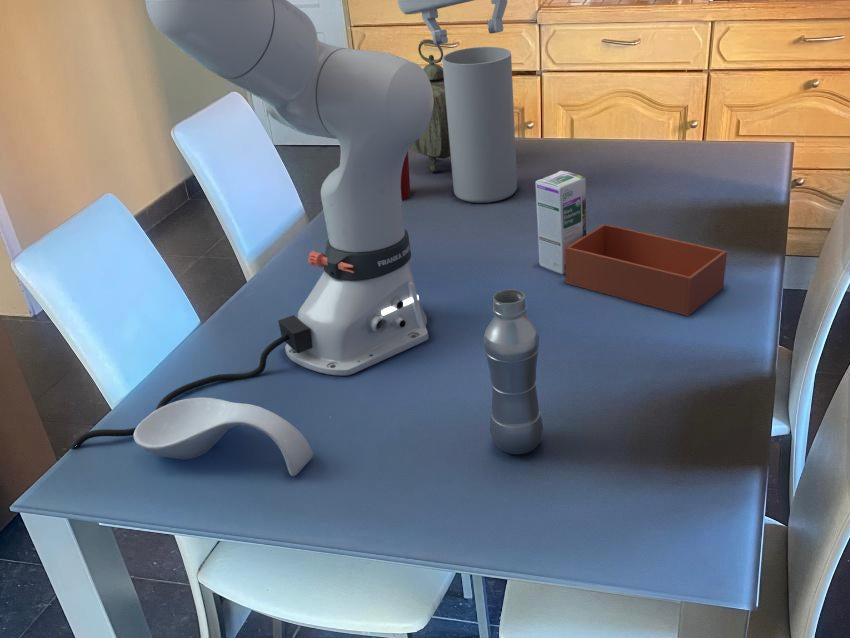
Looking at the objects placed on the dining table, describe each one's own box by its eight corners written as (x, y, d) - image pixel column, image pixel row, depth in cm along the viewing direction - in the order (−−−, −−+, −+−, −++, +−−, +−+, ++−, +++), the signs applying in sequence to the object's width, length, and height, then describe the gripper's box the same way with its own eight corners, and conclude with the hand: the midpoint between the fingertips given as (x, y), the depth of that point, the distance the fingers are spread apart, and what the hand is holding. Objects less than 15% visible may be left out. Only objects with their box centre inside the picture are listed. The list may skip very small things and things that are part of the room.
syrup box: (563, 275, 152) (561, 187, 143) (537, 265, 156) (534, 178, 146) (587, 263, 155) (587, 176, 146) (561, 254, 158) (560, 168, 149)
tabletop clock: (480, 169, 194) (470, 38, 179) (448, 182, 190) (436, 49, 174) (433, 157, 203) (420, 31, 187) (402, 169, 198) (386, 41, 183)
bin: (723, 287, 144) (727, 251, 140) (687, 316, 138) (690, 278, 134) (603, 258, 156) (603, 223, 152) (565, 283, 150) (565, 247, 146)
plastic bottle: (505, 467, 112) (495, 315, 99) (482, 439, 117) (470, 292, 104) (553, 451, 114) (549, 301, 101) (528, 424, 119) (521, 278, 106)
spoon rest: (122, 464, 118) (104, 417, 114) (177, 415, 127) (162, 369, 122) (282, 496, 111) (270, 446, 106) (329, 441, 119) (319, 393, 115)
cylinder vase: (496, 208, 177) (488, 66, 161) (442, 199, 183) (428, 62, 167) (528, 185, 185) (523, 49, 169) (475, 178, 191) (465, 45, 175)
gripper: (379, -57, 131) (397, 51, 137) (504, -93, 120) (518, 26, 126) (404, -56, 136) (421, 49, 141) (527, -90, 125) (540, 24, 131)
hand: (468, 38), depth 134 cm, fingers open, 8 cm apart
